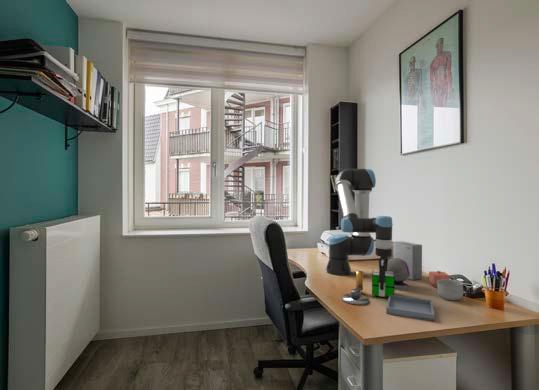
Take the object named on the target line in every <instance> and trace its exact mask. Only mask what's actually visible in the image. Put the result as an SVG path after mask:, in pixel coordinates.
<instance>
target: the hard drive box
mask: <svg viewBox="0 0 539 390" xmlns="http://www.w3.org/2000/svg"><path fill="white" fill-rule="evenodd" d="M392 242H393V244H392V258H400V259H402V260H404V261H405V262H406V263H407V266H408V269H409V277H408V278H407V279H408V280H411V281H415V280H420V279H421V280H422V278H423V244H418V243H414V242H409V241H408V242H407V241H402V240H399V241H392Z"/></svg>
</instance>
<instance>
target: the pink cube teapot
mask: <svg viewBox="0 0 539 390" xmlns="http://www.w3.org/2000/svg"><path fill="white" fill-rule="evenodd" d="M442 279H444V280H445V279H448V280H451V279H450V274H448V273H446V272H445V271H441V270H437V271H428V283H429V284H430V285H432V286H433V287H434V288H437V281H438V280H442ZM437 289H438V288H437Z"/></svg>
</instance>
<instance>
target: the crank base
mask: <svg viewBox="0 0 539 390" xmlns="http://www.w3.org/2000/svg"><path fill="white" fill-rule="evenodd" d="M341 300H342V302H343V303H346V304H349V305H354V306H364V305H367V304H369V302H370V298H369V297H367V296H366V295H362V294H360V298H358V299H356V298H352V297H351V293H345V294H343V295H342V296H341Z"/></svg>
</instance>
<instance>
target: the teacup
mask: <svg viewBox="0 0 539 390" xmlns="http://www.w3.org/2000/svg"><path fill="white" fill-rule="evenodd" d="M437 293H438V295H439V296H440V297H441V298H442V299H444V300H448V301H458V300H460V299H461V298H462V297H463V296H464V283H463V282H462V281H460V280H457V279H450V280H448V279H445V280H444V279H442V280H438V281H437Z"/></svg>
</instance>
